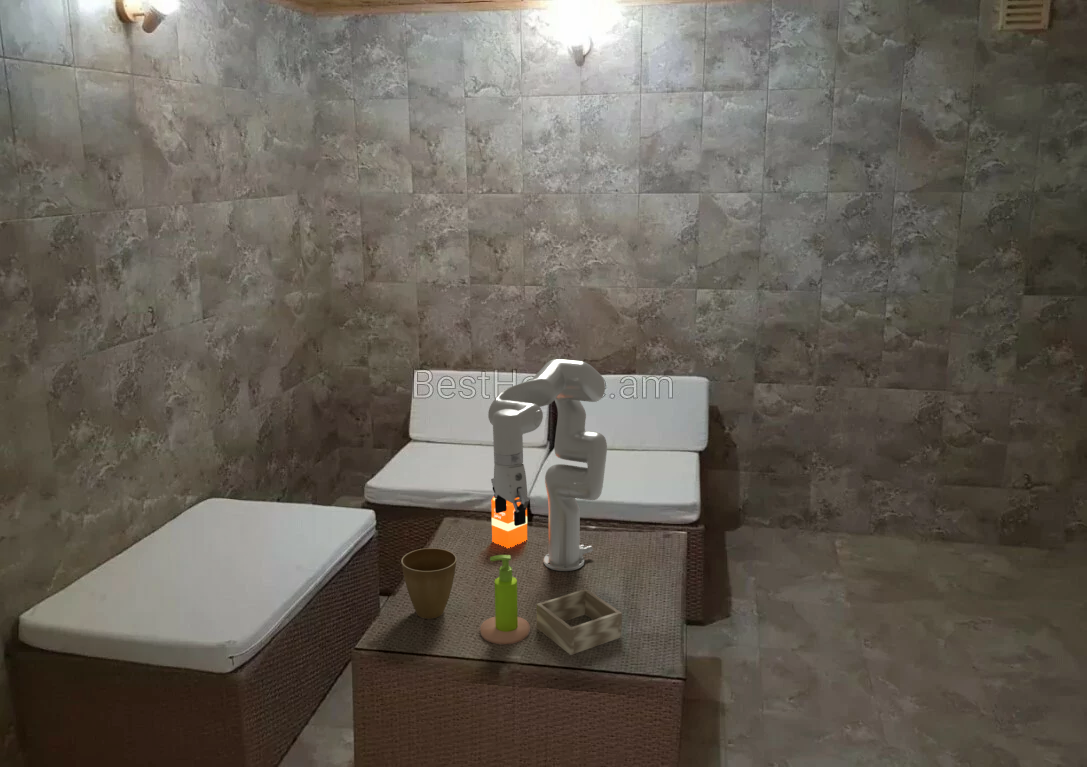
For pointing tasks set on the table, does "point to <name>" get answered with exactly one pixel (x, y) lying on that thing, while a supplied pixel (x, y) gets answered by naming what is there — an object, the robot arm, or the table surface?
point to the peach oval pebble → (501, 637)
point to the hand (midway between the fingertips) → (510, 518)
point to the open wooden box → (583, 635)
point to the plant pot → (429, 579)
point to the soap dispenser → (505, 596)
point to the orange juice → (507, 526)
